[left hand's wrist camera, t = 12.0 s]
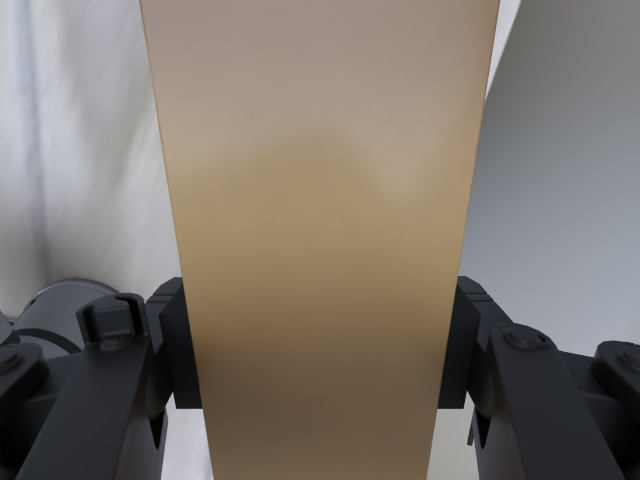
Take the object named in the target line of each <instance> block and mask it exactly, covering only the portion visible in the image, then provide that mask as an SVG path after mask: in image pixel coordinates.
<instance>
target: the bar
mask: <svg viewBox="0 0 640 480" xmlns="http://www.w3.org/2000/svg"><path fill="white" fill-rule="evenodd" d="M139 3H140V9H141V15H142V22H143V28H144V35H145V41H146V48H147V54H148V60H149V67H150V73H151V80H152V86H153V93H154V99H155V105H156V112H157V118H158V125H159V131H160V137H161V144H162V150H163V157H164V163H165V170H166V176H167V182H168V189H169V195H170V202H171V208H172V215H173V221H174V227H175V234H176V240H177V247H178V253H179V259H180V266H181V272H182V279H183V285H184V292H185V298H186V304H187V311H188V317H189V324H190V330H191V337H192V343H193V349H194V356H195V362H196V369H197V375H198V381H199V388H200V394H201V401H202V407H203V414H204V420H205V426H206V433H207V439H208V446H209V452H210V459H211V465H212V471H213V478H214V480H426V479H427V472H428V466H429V459H430V453H431V446H432V439H433V433H434V427H435V420H436V414H437V407H438V401H439V394H440V388H441V381H442V375H443V368H444V362H445V355H446V349H447V342H448V336H449V329H450V323H451V316H452V310H453V303H454V297H455V290H456V284H457V277H458V270H459V264H460V258H461V251H462V245H463V238H464V232H465V225H466V219H467V212H468V206H469V199H470V193H471V186H472V180H473V173H474V167H475V160H476V154H477V147H478V141H479V134H480V128H481V121H482V115H483V108H484V102H485V95H486V89H487V82H488V76H489V69H490V63H491V56H492V50H493V43H494V37H495V30H496V24H497V17H498V11H499V4H500V0H139Z"/></svg>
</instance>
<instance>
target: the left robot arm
mask: <svg viewBox="0 0 640 480" xmlns="http://www.w3.org/2000/svg"><path fill="white" fill-rule="evenodd" d="M467 391H468V393H469V395H470V397H471V399H472V401H473V403H474V404H475V407H474V411H473V416H472V421H471V426H470V431H469V436H468V442H467V445H470V446H472V443H473V439H474V441H475V449H476V456H477V464H478V472H479V480H640V345H638V344H636V345H635V344H634V343H630V342H621V341H605V342H602V343H601V344H599V345H598V347H597V350H596V353H595V356H594V357H589V356H584V355H578V354H573V353H568V352H563V351H559V350H558V349H557V347H556V345H555V344H554V343H553V341H552V340H551V339H550V338H549V337H548V336H546V335H545V334H543V333H542V332H540V331H538V330H536V329H534V328H531V327H529V326H525V325H521V324H517V323H513V321H512V320H511V319H510V318H509V317H508V316H507V315H506V314H505V312H504V311H503V310H502V309H501V308H500V307H499V306H498V305H497V303H496V302H494V300H493V299H492V298H491V297H490V296H489V295H487V292H486V291H485V290H484V289H483V288H482V287H481V286H480V284H478V283H477V282H475V281H473V280H472V279H470V278H468V277H466V276H458V277H457V284H456V290H455V297H454V303H453V310H452V316H451V323H450V329H449V336H448V342H447V349H446V355H445V362H444V368H443V375H442V381H441V388H440V394H439V401H438V407H437V409H463V408H464V403H465V398H466V393H467ZM172 392H173V394H174V400H175V405H176V409H203V407H202V401H201V394H200V388H199V381H198V375H197V369H196V362H195V356H194V349H193V343H192V337H191V330H190V324H189V317H188V311H187V304H186V298H185V292H184V285H183V279H182V277H174V278H172V279H170V280H169V281H167V282H165V283H163V284H162V285H160V287H159V288H158V289H157V290H156V291H155V292H154V293H153V296H151V297H150V298H149V299H148V300H147V301H146V303H145V304H144V299H143V298H142V297H141V296H140V295H138V294H133V293H118V292H116V291H115V290H113V289H111V288H109V287H107V286H105V285H103V284H100V283H98V282H94V281H90V280H85V279H66V280H61V281H58V282H55V283H53V284H51V285H49V286H48V287H46V288H45V289H43V290H42V291H40V292H39V293H38V294H36V295H35V296H34V297H33V298H32V299H31V300H30V302H29V303H28V304H27V306H26V307H25V309H24V311H23V313H22V314H21V315H20V316H19V318H18V319H17V320H16V322H15V323H13V322H9V321H7V319H6V318H5V316H4V315H3V314H2V312H1V311H0V480H161V473H162V465H163V458H164V450H165V442H166V434H167V427H168V417H167V411H166V404H167V402H168V400H169V398H170V396H171V394H172Z"/></svg>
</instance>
